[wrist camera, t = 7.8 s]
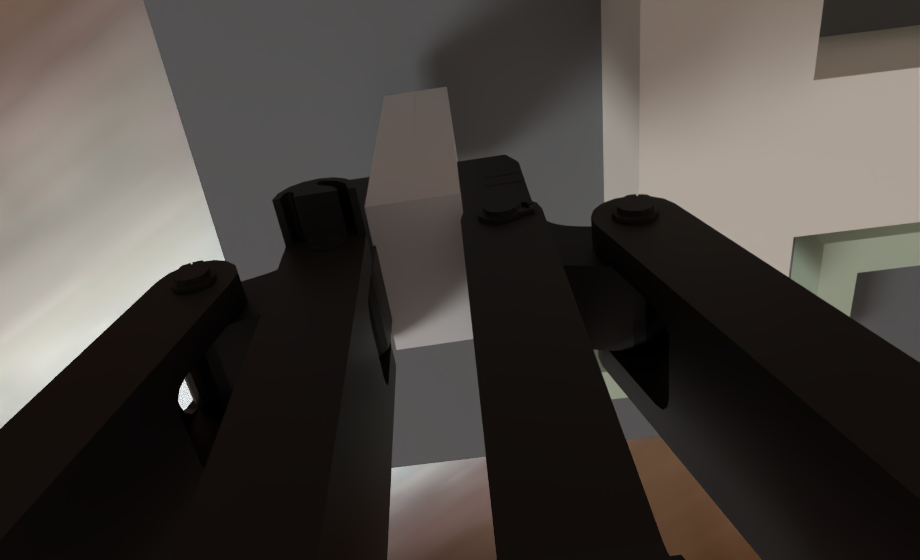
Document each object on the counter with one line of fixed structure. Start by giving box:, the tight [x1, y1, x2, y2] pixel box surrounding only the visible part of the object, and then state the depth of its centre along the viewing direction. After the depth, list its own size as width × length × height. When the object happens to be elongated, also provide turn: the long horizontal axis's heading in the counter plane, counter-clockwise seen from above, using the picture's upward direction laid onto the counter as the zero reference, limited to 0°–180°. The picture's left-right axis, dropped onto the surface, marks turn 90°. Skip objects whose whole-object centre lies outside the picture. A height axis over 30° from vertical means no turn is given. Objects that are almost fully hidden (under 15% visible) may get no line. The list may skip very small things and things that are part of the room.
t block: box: [601, 0, 920, 277], centre depth 17 cm, size 10×10×4 cm
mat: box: [144, 0, 920, 468], centre depth 18 cm, size 21×24×1 cm
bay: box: [593, 222, 920, 399], centre depth 17 cm, size 15×15×2 cm
